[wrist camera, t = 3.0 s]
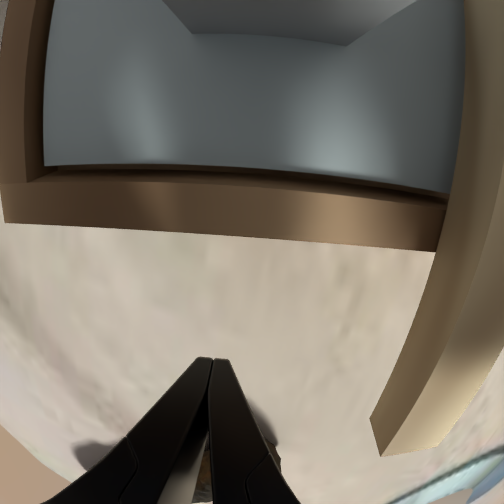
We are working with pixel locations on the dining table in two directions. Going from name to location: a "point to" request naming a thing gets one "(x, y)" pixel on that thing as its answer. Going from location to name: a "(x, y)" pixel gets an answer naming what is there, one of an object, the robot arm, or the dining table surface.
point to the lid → (259, 86)
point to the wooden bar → (458, 265)
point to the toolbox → (184, 178)
